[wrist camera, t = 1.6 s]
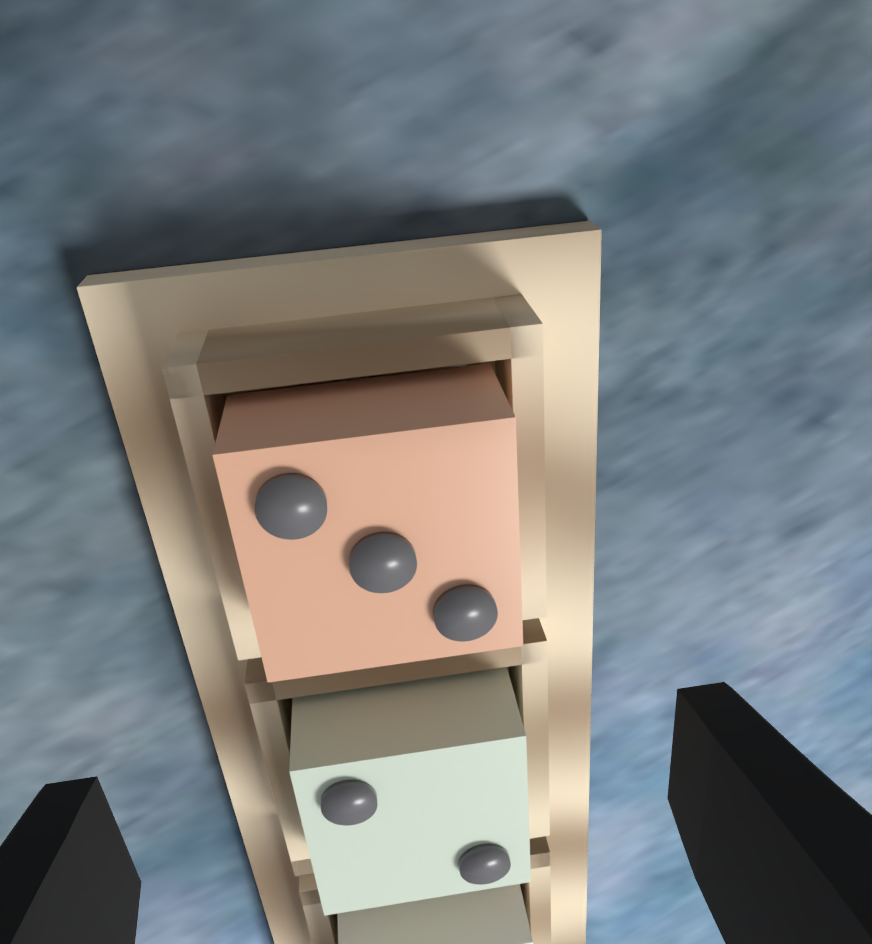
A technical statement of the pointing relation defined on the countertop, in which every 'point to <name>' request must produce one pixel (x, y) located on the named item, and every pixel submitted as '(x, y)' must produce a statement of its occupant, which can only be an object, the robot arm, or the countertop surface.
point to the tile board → (351, 358)
